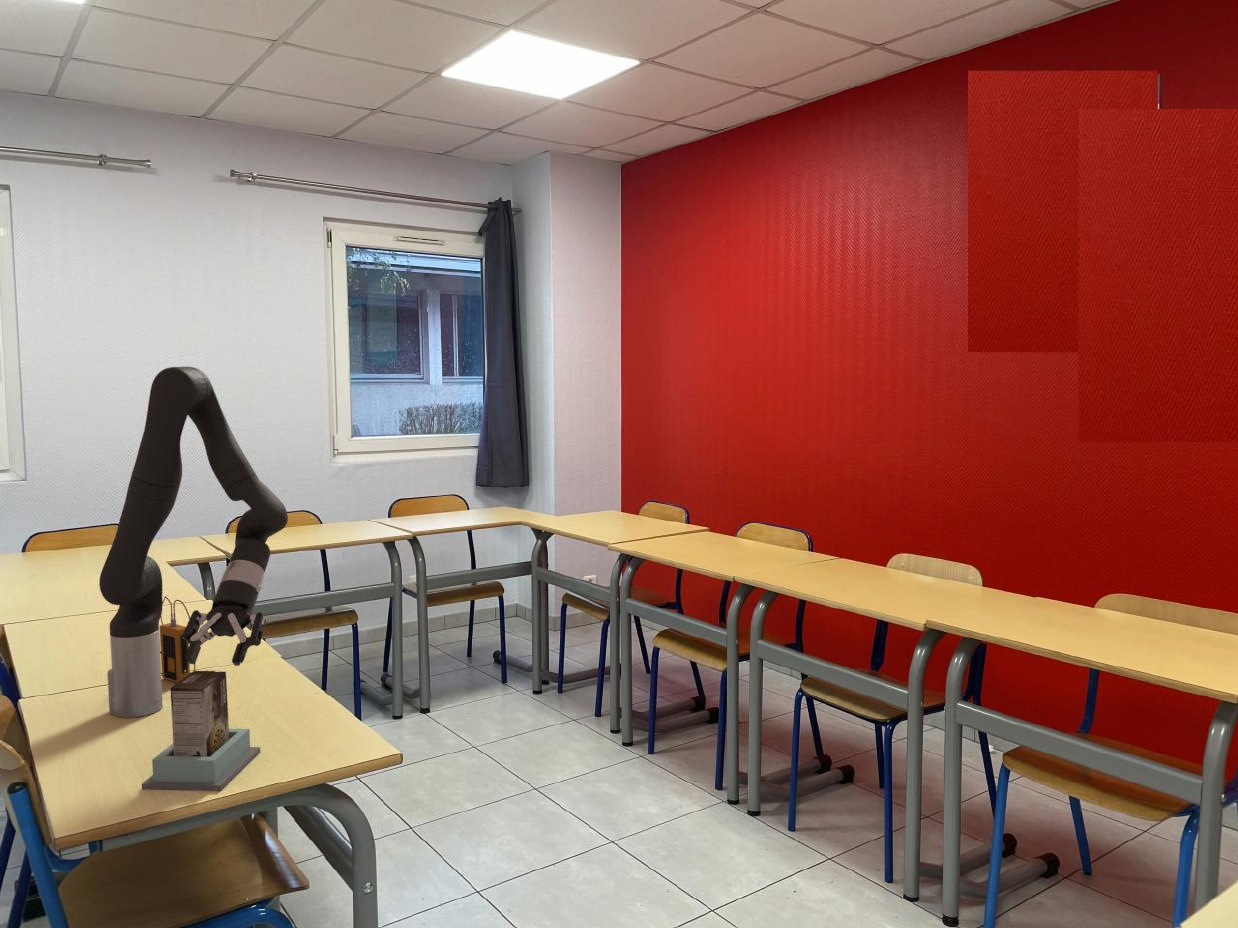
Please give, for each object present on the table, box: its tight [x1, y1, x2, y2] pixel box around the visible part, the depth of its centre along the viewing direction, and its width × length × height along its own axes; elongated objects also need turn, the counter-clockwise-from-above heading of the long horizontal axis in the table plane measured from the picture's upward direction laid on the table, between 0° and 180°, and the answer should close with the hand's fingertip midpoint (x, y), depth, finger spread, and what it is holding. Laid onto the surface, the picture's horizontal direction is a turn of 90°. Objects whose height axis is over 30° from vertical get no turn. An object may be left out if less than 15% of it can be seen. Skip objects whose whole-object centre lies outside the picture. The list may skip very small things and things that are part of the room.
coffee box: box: [170, 670, 230, 757], centre depth 164 cm, size 9×6×16 cm
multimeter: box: [159, 596, 208, 684], centre depth 214 cm, size 15×10×20 cm
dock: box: [141, 728, 261, 792], centre depth 165 cm, size 14×16×5 cm
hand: (213, 663), depth 169 cm, fingers open, 8 cm apart
